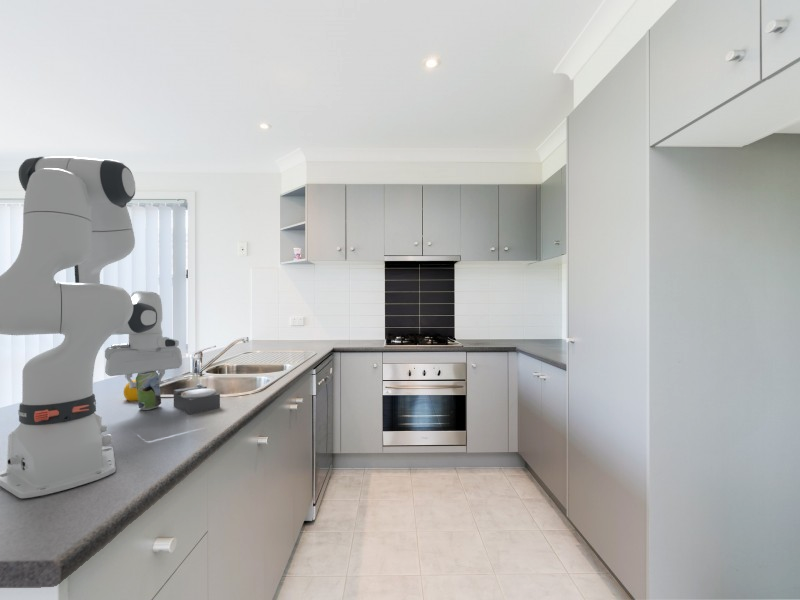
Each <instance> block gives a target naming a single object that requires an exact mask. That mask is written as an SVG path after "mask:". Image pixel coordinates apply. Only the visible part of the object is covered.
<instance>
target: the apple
mask: <svg viewBox="0 0 800 600" xmlns="http://www.w3.org/2000/svg"><path fill="white" fill-rule="evenodd" d="M131 380H132V381H133V382H136V379H131ZM123 396H124V398H125V399H126V400H127V401H129V402H135V401H136V402H138V396H137V387H136V388H132V389H130V388H129V382H127V384H125V386H124V388H123Z"/></svg>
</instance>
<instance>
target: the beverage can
mask: <svg viewBox="0 0 800 600" xmlns="http://www.w3.org/2000/svg"><path fill="white" fill-rule="evenodd" d="M135 380H136V382H137V384H136V386H137V396H138V401H137V403H138V408H139V409H140V410H142V411H143V410H144V411H149V410H153V409H156V408H158V407H159V406H160V405H161V404H162V397H161V388H160V387H161V386H160V385H161V384H159V373H158V372H157V371H151V372H143V373H137V375H136V377H135Z"/></svg>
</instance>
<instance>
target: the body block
mask: <svg viewBox="0 0 800 600" xmlns="http://www.w3.org/2000/svg"><path fill="white" fill-rule="evenodd" d="M207 387H208V386H205V385H203V383H197V384H196V386H192V387H184V388H178V389H174V390H173V408H175V409H177V410H180V411H181V412H183V413H186V414H187V415H194V414H198V413H200V414H201V413H205V412H208V411H211V410H217V409H220V408H221V393H219V392H218V393H217V392H216V389H215V388H207Z"/></svg>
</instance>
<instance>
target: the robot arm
mask: <svg viewBox="0 0 800 600" xmlns="http://www.w3.org/2000/svg"><path fill="white" fill-rule="evenodd" d="M18 179H19V183H20V185H21V187H22V189H23V190H24V191H25V195H24V199H23V213H22V215H23V217H22V221H23V222H22V236H21V244H20V250H19V253H18V256H17V257H16V259H15V261H14V262H13V264H12V265H11V266H10V267H9V268H8V269H7V270H6V271H4V272H3V273H2V274H1V275H0V335H5V336H6V335H7V336H31V335H32V336H33V335H54V334H60V335H63V336H64V338H63V341H62V342H61V343H60V344H59V345H57V346H56V347H53V348H51V349H49V350H46V351H44V352H41V353H39V354H37V355H36V356H34V357H32V358H31V359H29V360H28V361H27V362H26V363H25V365H24V366H23V369H22V378H21V379H22V381H21V382H22V384H21V386H22V387H21V388H22V392H21V393H22V394H21V395H22V398H21V399H22V402H21V403H20V404H19V407H18V410H17V411H18V422H19V423H20V424H18V425H17V427H16V428H15V429H14V430H13V431H12V432H10V433H9V434H8V437H7V457H6V469H4V470H2V471H0V487H1V488H3V489H4V490H5V491H7V492H9V493H11V494H12V495H14V496H15V497H17V498H19V499H28V498H36V497H39V496H40V497H41V496H46V495H51V494H54V493H58V492H61V491H65V490H69V489H72V488H76V487H79V486H82V485H85V484H88V483H92V482H95V481H99V480H100V479H103V478H106V477H107V476H110V475H112V474H114V473H115V472H117V468H116V457H115V450H114V447H113V446H111V445H112V442H113V441H112V440H113V439H112V434H111V433H107V434H103V435H102V433H105V432H107V430H108V429H107V427H108V426H107V424H105V425H102V421H103V420H102V416H100V415H98V414H97V413H96V412H97V408H96V407H97V406H96V405H97V402H96V401H97V400H96V395H95V393H93V392H94V390H93V387H94V384H93V383H94V372H95V371H94V370H95V365H96V359H97V356H98V354H99V352H100V350H101V349H102V347H103V345H104V344H105V342H106V341H107V340H108V339H109V338H110V337H111V336H114V335H119V336H120V335H128V343H121V344H112V345H110V346H108V347H107V348H106V349H105V351H104V358H105V367H104V373H105V375H106V376H107V375H108V376H109V377H115V376H116V377H117V376H124V378H125V380H127V383H129V388H130V389H132V388H136V387H137V386H136V384H137V382H133V381H132V380H133V379H131V378H133V375H134V374H138V373H143V372H151V371H156V372H157V373H158V376H159V385H161V384H162V379H163V377H164V375H165V374H166V370H167V371H168V370H173V369H175V370H176V369H180V368H181V367H182V365H183V358H182V351H181V349H180V348H179V347H178V346H179V344H180V342H179V340H178V339H174V338H170V337H167V336H163V329H162V322H163V303H162V298H161V296H160V295H159V294H158V293H156V292H153V291H148V290H146V291H145V290H139V291H138V290H137V291H134V292H132V293H131V295H130V294H129V293H128V291H127V290H125V289H124V288H122V287H121V286H120V287H119V286H114V285H109V284H103V283H101V279H100V276H101V272H102V270H103V269H104V268H105V267H106V266H109V265H110V264H113V263H116V262H119V261H121V260H123V259H125V258H127V256H129V255H130V254H132V251H134V248H135V245H136V242H135V241H136V239H135V234H134V233H135V232H134V228H133V222H132V219H131V216H130V212H129V211H128V207H127V204H129V203H130V202H131V201H132V200H133V198H134V197H135V195H136V181H135V178H134V175H133V172H132V171H131V169H130V168H129V166H127V165H126V164H124V162H121V161H118V160H115V159H114V160H113V159H108V158H105V159H99V158H90V157H77V156H66V155H65V156H49V157H46V156H35V157H30V158H27V159H25V160H24V161H23V162H22V163H21V165H20V166H19V169H18ZM72 267H74V282H60V281H56V280H55V275H56V274H57V273H59V272H61V271H63V270H66V269H70V268H72Z"/></svg>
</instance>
